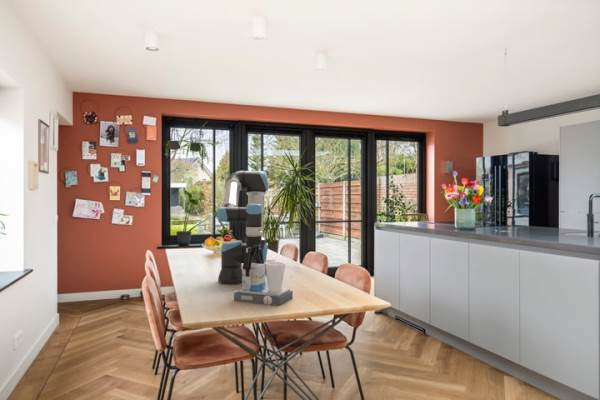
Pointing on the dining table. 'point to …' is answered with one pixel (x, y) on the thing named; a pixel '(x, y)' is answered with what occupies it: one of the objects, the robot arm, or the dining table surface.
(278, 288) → the foam cup
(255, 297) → the scale
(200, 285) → the dining table surface
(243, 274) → the ink box
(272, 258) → the bowl
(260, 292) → the plate
